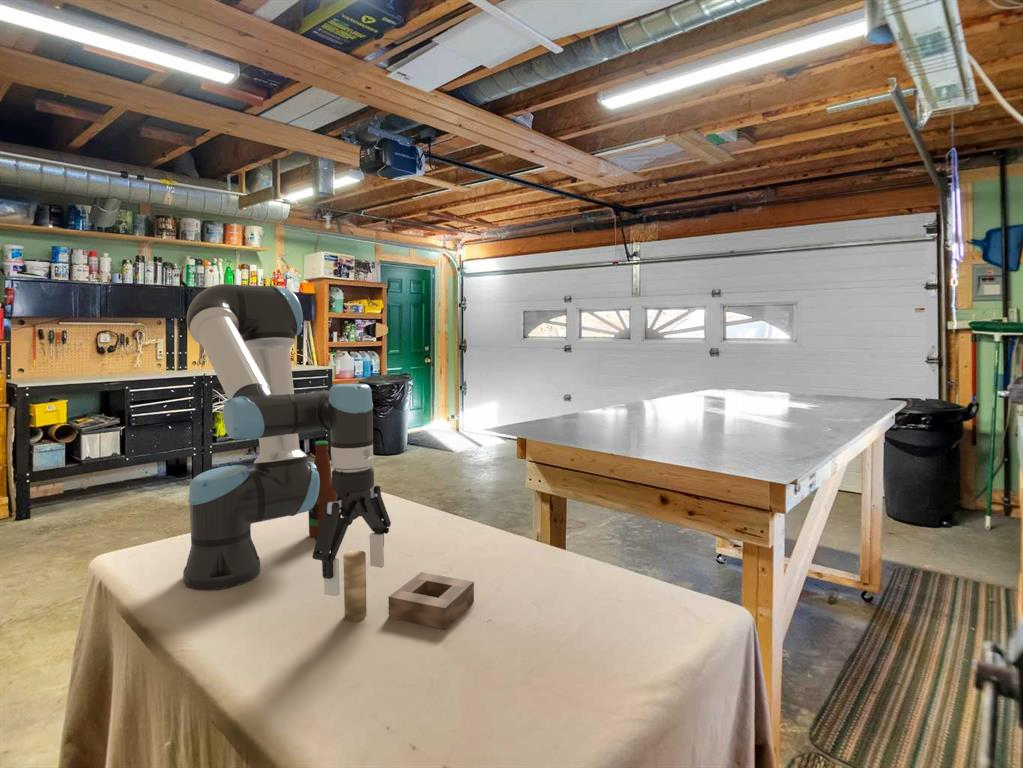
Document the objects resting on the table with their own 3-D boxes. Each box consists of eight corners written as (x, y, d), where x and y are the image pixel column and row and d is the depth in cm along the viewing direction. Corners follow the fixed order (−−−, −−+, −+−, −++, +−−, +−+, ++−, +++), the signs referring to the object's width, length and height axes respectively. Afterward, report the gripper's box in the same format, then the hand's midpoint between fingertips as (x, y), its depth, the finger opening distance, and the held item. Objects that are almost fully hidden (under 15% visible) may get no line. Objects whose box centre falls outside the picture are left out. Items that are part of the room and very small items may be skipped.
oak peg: (340, 618, 108) (338, 556, 107) (353, 609, 112) (352, 549, 111) (358, 622, 107) (356, 559, 106) (370, 613, 111) (369, 552, 110)
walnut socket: (388, 617, 109) (388, 596, 109) (421, 590, 120) (421, 572, 120) (445, 629, 105) (445, 608, 104) (473, 601, 116) (473, 581, 116)
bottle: (317, 530, 157) (314, 438, 154) (342, 531, 156) (340, 439, 153) (303, 539, 149) (301, 443, 147) (330, 541, 148) (328, 444, 146)
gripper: (324, 485, 94) (328, 611, 96) (406, 456, 117) (408, 558, 119) (287, 481, 97) (292, 604, 98) (375, 453, 120) (377, 553, 122)
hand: (355, 579), depth 109 cm, fingers open, 13 cm apart
